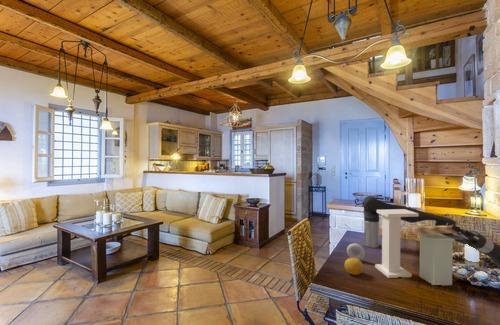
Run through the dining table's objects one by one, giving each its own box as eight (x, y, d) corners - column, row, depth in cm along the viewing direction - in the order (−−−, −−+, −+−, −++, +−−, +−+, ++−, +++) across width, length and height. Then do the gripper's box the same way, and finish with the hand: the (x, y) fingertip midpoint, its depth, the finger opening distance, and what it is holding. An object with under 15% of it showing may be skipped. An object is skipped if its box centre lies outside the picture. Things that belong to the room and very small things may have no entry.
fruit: (344, 275, 125) (344, 260, 125) (344, 268, 132) (344, 254, 132) (363, 278, 122) (363, 263, 122) (362, 271, 129) (362, 256, 129)
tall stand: (403, 266, 135) (403, 208, 134) (419, 276, 123) (420, 213, 122) (375, 267, 134) (375, 209, 133) (388, 277, 122) (389, 214, 121)
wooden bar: (457, 231, 121) (457, 225, 121) (461, 232, 118) (461, 226, 118) (410, 232, 119) (410, 226, 119) (414, 234, 117) (414, 228, 117)
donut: (346, 259, 144) (346, 243, 144) (347, 257, 147) (347, 241, 147) (365, 263, 139) (365, 245, 139) (365, 260, 142) (365, 243, 142)
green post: (436, 275, 125) (437, 232, 124) (454, 285, 115) (454, 239, 114) (417, 275, 124) (418, 233, 124) (433, 286, 114) (434, 239, 114)
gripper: (468, 230, 127) (441, 215, 126) (497, 240, 113) (466, 222, 112) (461, 243, 127) (434, 227, 126) (489, 254, 113) (458, 236, 112)
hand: (449, 225), depth 119 cm, fingers closed on wooden bar, 2 cm apart
